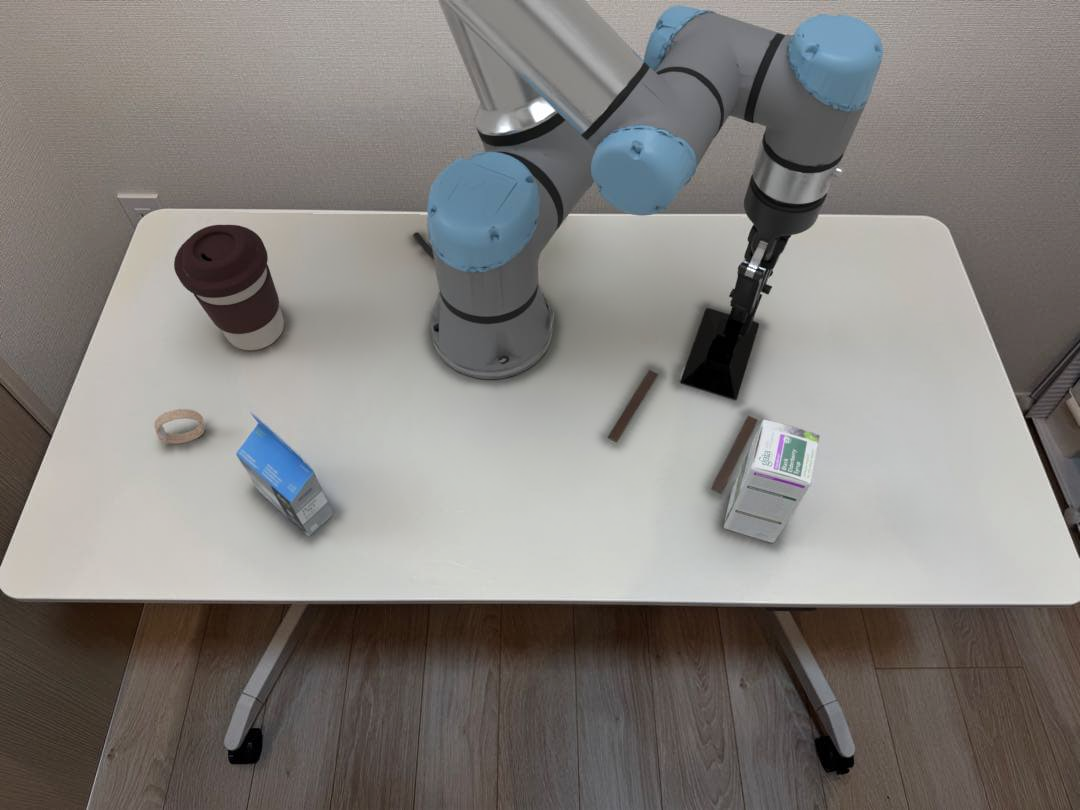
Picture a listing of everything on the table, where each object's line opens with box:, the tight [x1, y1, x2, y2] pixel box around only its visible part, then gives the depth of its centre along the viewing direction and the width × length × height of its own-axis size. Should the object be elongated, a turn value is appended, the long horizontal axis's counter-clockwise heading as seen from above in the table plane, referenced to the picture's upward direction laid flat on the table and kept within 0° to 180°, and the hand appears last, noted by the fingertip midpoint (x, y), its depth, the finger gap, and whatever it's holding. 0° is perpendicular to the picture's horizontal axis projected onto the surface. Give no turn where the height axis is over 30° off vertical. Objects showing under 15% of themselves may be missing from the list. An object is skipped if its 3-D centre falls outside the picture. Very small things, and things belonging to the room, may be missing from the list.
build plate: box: [678, 307, 760, 401], centre depth 94 cm, size 12×7×5 cm, turn 159°
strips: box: [607, 369, 759, 495], centre depth 89 cm, size 14×11×1 cm
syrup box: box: [722, 419, 821, 544], centre depth 78 cm, size 6×6×14 cm
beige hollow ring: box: [154, 408, 205, 445], centre depth 87 cm, size 3×5×5 cm, turn 111°
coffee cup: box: [173, 224, 285, 351], centre depth 91 cm, size 10×10×15 cm
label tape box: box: [235, 411, 335, 537], centre depth 79 cm, size 9×4×12 cm, turn 50°
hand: (737, 328), depth 95 cm, fingers closed
